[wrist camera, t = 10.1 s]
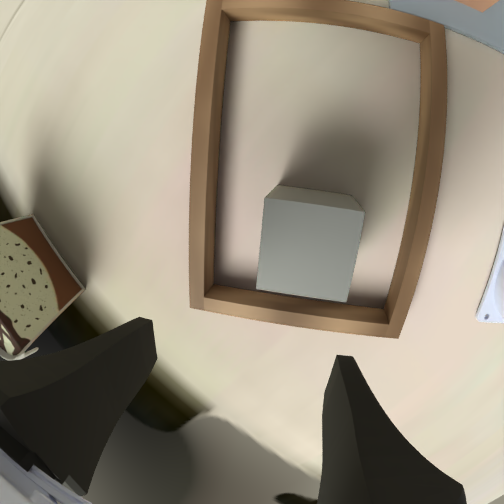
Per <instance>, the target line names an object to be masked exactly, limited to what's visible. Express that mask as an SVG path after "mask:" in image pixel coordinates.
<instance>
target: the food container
mask: <svg viewBox="0 0 504 504" xmlns="http://www.w3.org/2000/svg"><path fill="white" fill-rule="evenodd" d="M84 290H85V288H84V286H83V285H82V284H81V283H80V281H79V280H78V279H77V277H76V276H75V275H74V273H73V272H72V271H71V269H70V268H69V267H68V265H67V264H66V263H65V261H64V260H63V258H62V257H61V256H60V254H59V253H58V251H57V250H56V248H55V247H54V245H53V244H52V243H51V241H50V240H49V238H48V237H47V235H46V234H45V232H44V230H43V229H42V227H41V226H40V224H39V223H38V221H37V219H36V218H35V216H34V215H33V214H32V215H28V216H23V217H19V218H15V219H11V220H7V221H4V222H0V356H1V357H2V358H4V359H6V360H8V361H10V360H16V359H18V360H19V359H22V358H24V357H26V356H28V355H30V354H32V353H34V352H36V351H37V350H38V347H37V348H34V349H33V350H30V351H25V350H26V349H27V348H28V347H29V346H30V345H31V344H32V343H33V342H34V341H35V340H36V338H37V337H39V335H40V334H41V333H42V332H43V331H44V330H45V329H46V328H47V327H48V326H49V325H50V324H51V323H52V322H53V321H54V320H55V319H56V318H57V317H58V316H59V315H60V314H61V313H62V312H63V311H64V310H65V309H66V308H67V307H68V306H69V305H70V304H71V303H72V302H73V301H74V300H75V299H76V298H77V297H78V296H79V295H81V294H82V293H83V292H84Z"/></svg>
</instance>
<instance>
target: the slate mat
mask: <svg viewBox="0 0 504 504" xmlns="http://www.w3.org/2000/svg"><path fill="white" fill-rule="evenodd" d="M389 9H392V10H396V11H400V12H404V13H408V14H411V15H415V16H418V17H421V18H424V19H427V20H430V21H433V22H436V23H439V24H442V25H444V28H447V29H450V30H452V31H455V32H457V33H460V34H462V35H465V36H467V37H469V38H472V39H474V40H476V41H478V42H481V43H483V44H485V45H487V46H489V47H491V48H493V49H495V50H497V51H499V52H501V53H503V54H504V0H499V1H498V2H496V3H495V4H494V5H492V6H491V7H489V8H488V9H487V10H485V11H484V12H483V13H482V12H480V11H478V10H476V9H473V8H471V7H469V6H467V5H464V4H462V3H460V2H457V1H455V0H389Z"/></svg>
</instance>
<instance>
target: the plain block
mask: <svg viewBox="0 0 504 504" xmlns="http://www.w3.org/2000/svg"><path fill="white" fill-rule="evenodd" d="M364 216H365V211H364V210H363V209H362V208H361V206H360V205H359V204H358V203H357V201H356V200H355V199H354V198H353V196H352V195H347V194H340V193H334V192H327V191H320V190H313V189H306V188H298V187H291V186H283V185H277V186H276V187H275V188H274V189H273V190H272V191H271V192H270V193H269V194H268V195H267V196H266V197H265V199H264V209H263V220H262V231H261V242H260V252H259V263H258V273H257V284H256V289H260V290H266V291H272V292H278V293H285V294H291V295H298V296H305V297H311V298H318V299H325V300H333V301H340V302H346V301H347V297H348V293H349V289H350V285H351V281H352V276H353V272H354V267H355V263H356V258H357V253H358V248H359V243H360V238H361V233H362V227H363V222H364Z"/></svg>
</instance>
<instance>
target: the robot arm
mask: <svg viewBox="0 0 504 504" xmlns="http://www.w3.org/2000/svg"><path fill="white" fill-rule="evenodd" d="M486 314H487V316H485V315H486ZM476 319H477V320H478V321H479V322H491V323H504V228H503V232H502V236H501V240H500V244H499V248H498V252H497V255H496V259H495V262H494V265H493V269H492V272H491V275H490V278H489V281H488V284H487V287H486V289H485V292H484V295H483V298H482V300H481V303H480V306H479V308H478V311H477V313H476ZM156 360H157V353H156V346H155V338H154V331H153V322H152V320H149V319H145V318H142V317H138V318H136V319H133V320H131V321H129V322H127V323H125V324H123V325H121V326H119V327H116V328H114V329H112V330H110V331H108V332H106V333H104V334H102V335H100V336H98V337H95V338H93V339H91V340H88V341H86V342H83V343H81V344H79V345H76V346H74V347H71V348H68V349H65V350H62V351H59V352H56V353H52V354H48V355H43V356H38V357H34V358H29V359H21V360H10V361H0V504H57V502H56V500H57V501H58V502H60V503H61V504H92V503H90V502H89V501H87V500H85V499H84V498H82V497H80V496H83V495H86V494H87V493H88V489H89V486H90V483H91V480H92V477H93V474H94V471H95V468H96V466H97V463H98V461H99V459H100V456H101V454H102V451H103V449H104V447H105V445H106V443H107V441H108V438H109V436H110V435H111V433H112V431H113V429H114V427H115V425H116V423H117V421H118V420H119V418H120V417H121V415H122V414H123V412H124V411H125V409H126V408H127V407H128V405H129V404H130V402H131V401H132V400H133V398H134V397H135V395H136V394H137V393H138V391H139V390H140V388H141V387H142V385H143V384H144V382H145V381H146V380H147V378H148V376H149V374H150V372H151V371H152V369H153V366H154V364H155V362H156ZM322 440H323V463H322V476H321V483H320V490H319V496H318V502H317V504H467V503H466V497H465V492H464V488H463V485H462V484H460V483H459V482H457V481H455V480H454V479H452V478H451V477H449V476H448V475H446V474H445V473H443V472H442V471H441V470H439V469H438V468H437V467H435V466H434V465H433V464H432V463H430V462H429V461H428V460H427V459H426V458H425V457H424V456H422V455H421V454H420V453H419V452H418V451H417V450H416V449H415V448H414V447H413V446H412V445H411V444H410V443H409V442H408V441H407V440H406V439H405V437H404V436H403V435H402V434H401V433H400V432H399V430H398V429H397V428H396V427H395V425H394V424H393V423H392V421H391V420H390V419H389V417H388V416H387V414H386V413H385V412H384V410H383V409H382V407H381V406H380V404H379V402H378V401H377V399H376V398H375V396H374V394H373V392H372V391H371V389H370V387H369V386H368V384H367V382H366V380H365V378H364V377H363V375H362V373H361V371H360V369H359V367H358V365H357V363H356V361H355V359H354V358H353V356H343V355H337V356H336V359H335V362H334V365H333V368H332V372H331V375H330V378H329V381H328V384H327V387H326V390H325V393H324V402H323V413H322Z"/></svg>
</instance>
